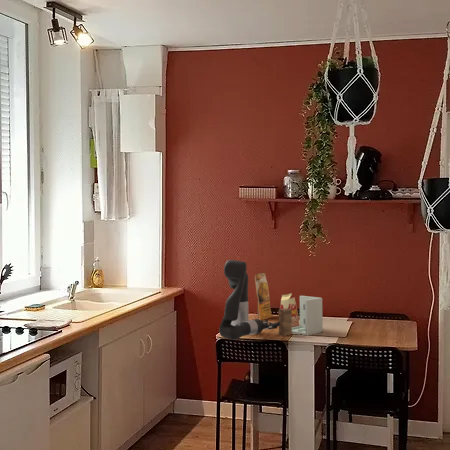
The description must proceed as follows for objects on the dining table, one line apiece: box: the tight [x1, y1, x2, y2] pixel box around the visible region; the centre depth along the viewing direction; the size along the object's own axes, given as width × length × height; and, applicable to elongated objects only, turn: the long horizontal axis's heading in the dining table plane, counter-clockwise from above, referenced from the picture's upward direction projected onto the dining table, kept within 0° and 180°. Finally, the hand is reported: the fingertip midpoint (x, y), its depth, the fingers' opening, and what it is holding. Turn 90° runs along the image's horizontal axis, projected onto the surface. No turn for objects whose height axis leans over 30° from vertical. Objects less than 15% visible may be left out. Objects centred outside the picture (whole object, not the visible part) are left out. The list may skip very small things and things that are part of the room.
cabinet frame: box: [292, 295, 324, 337], centre depth 394 cm, size 15×13×19 cm
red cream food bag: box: [279, 292, 300, 327], centre depth 410 cm, size 9×9×20 cm
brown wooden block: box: [278, 308, 293, 337], centre depth 388 cm, size 4×6×14 cm, turn 133°
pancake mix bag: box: [254, 272, 272, 321], centre depth 443 cm, size 7×19×28 cm, turn 151°
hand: (273, 322), depth 381 cm, fingers open, 8 cm apart
